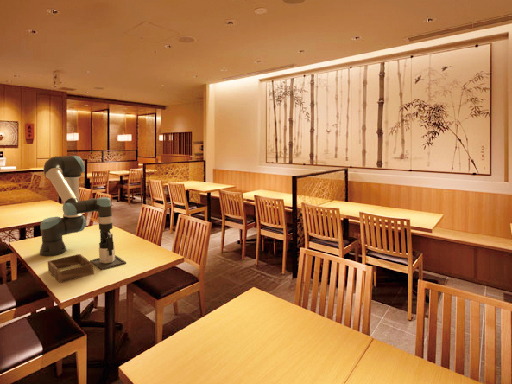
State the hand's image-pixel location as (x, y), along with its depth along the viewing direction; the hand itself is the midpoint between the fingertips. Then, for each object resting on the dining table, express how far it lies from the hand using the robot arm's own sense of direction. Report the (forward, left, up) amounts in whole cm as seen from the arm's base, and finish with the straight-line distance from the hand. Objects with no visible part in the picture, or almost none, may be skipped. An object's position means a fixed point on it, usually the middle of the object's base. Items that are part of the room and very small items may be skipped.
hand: (107, 258), depth 202 cm
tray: (0, 0, -3) cm, 3 cm away
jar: (-1, 0, -2) cm, 2 cm away
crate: (0, -21, -3) cm, 21 cm away
